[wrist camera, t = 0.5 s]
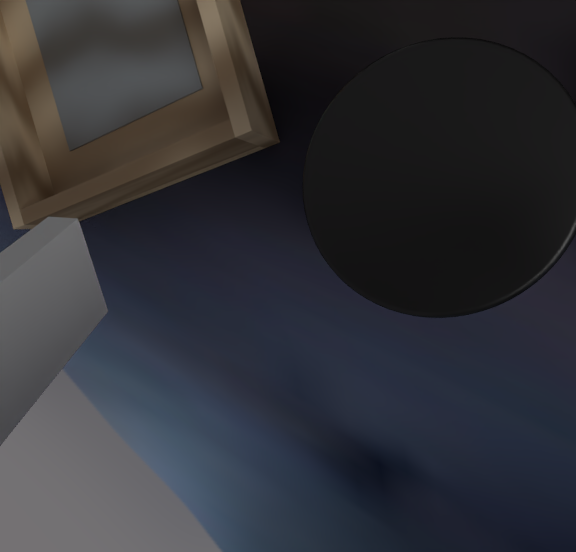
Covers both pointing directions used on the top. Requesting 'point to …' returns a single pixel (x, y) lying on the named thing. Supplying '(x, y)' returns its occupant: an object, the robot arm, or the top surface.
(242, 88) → the crate
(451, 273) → the jar
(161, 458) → the top surface
